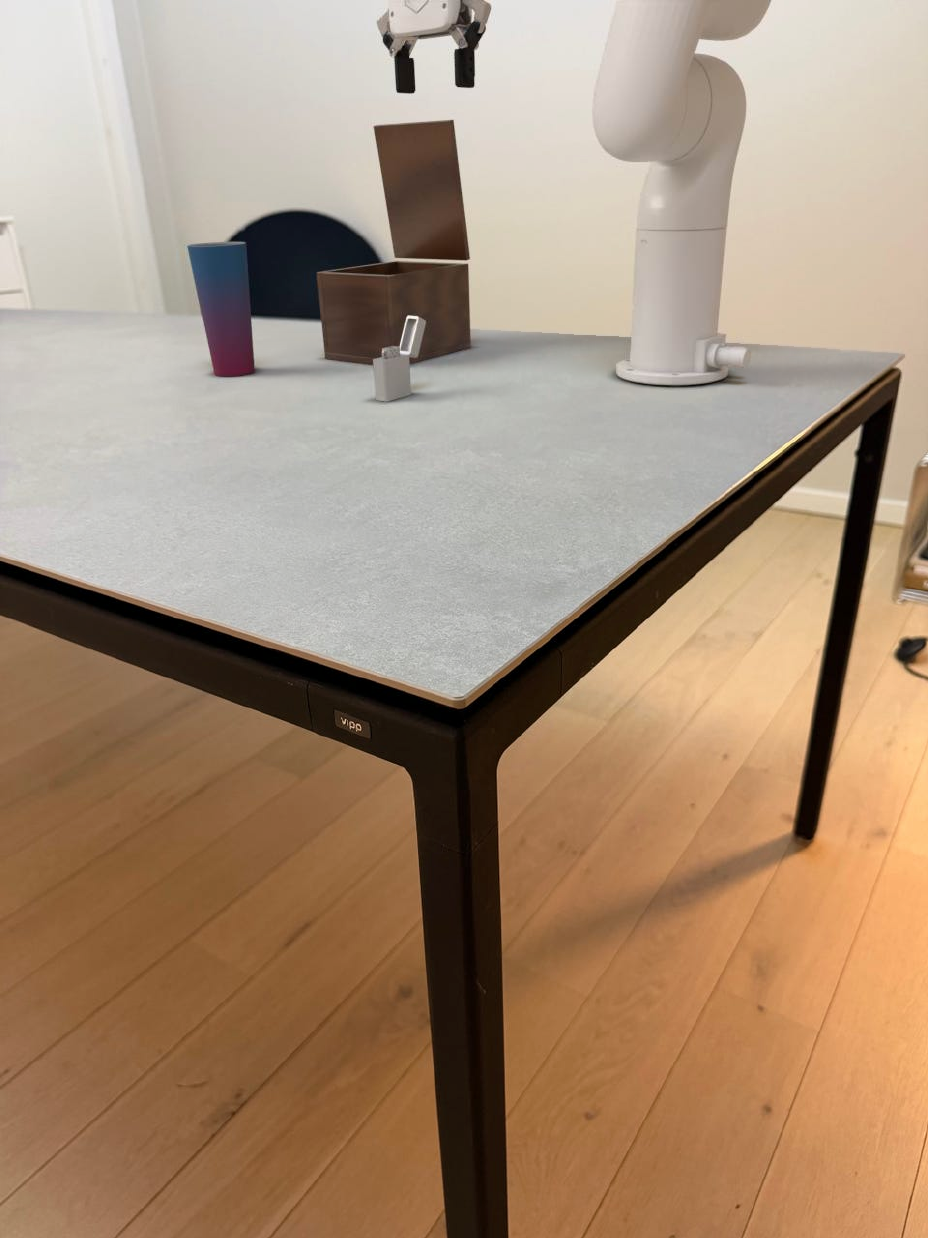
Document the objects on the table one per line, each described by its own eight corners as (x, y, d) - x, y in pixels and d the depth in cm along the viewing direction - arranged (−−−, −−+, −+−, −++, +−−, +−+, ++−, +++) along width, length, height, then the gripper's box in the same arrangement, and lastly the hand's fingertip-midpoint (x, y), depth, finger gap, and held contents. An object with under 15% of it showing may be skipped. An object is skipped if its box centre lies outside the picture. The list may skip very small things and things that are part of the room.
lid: (449, 120, 112) (473, 113, 115) (373, 125, 119) (397, 119, 122) (466, 260, 121) (488, 250, 124) (394, 257, 128) (416, 248, 131)
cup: (196, 377, 113) (176, 246, 107) (222, 366, 119) (204, 241, 113) (247, 378, 112) (229, 245, 105) (271, 367, 118) (255, 241, 111)
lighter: (386, 401, 98) (381, 324, 95) (374, 399, 99) (369, 322, 96) (429, 389, 103) (426, 314, 100) (418, 387, 104) (414, 313, 101)
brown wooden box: (396, 367, 115) (390, 275, 110) (324, 358, 122) (316, 272, 117) (470, 347, 126) (468, 263, 121) (401, 340, 133) (396, 260, 128)
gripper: (353, -68, 112) (364, 94, 119) (466, -95, 102) (471, 83, 110) (394, -59, 117) (402, 95, 125) (505, -83, 107) (507, 86, 115)
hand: (434, 90), depth 117 cm, fingers open, 9 cm apart
